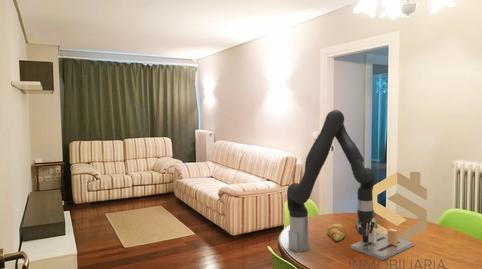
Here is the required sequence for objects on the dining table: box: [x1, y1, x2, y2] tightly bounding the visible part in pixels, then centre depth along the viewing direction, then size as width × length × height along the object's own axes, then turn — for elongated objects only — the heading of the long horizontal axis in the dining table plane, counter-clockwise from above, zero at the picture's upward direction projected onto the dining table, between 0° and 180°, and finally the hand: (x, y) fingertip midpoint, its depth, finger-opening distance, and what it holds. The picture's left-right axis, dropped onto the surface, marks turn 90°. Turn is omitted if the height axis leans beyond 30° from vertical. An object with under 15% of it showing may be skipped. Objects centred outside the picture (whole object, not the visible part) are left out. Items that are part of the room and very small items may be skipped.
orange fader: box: [386, 228, 399, 245], centre depth 169 cm, size 2×4×7 cm, turn 36°
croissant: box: [326, 222, 347, 242], centre depth 189 cm, size 21×10×8 cm, turn 167°
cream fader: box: [368, 228, 378, 243], centre depth 172 cm, size 2×4×7 cm, turn 35°
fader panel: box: [350, 232, 414, 261], centre depth 171 cm, size 26×18×2 cm
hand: (365, 242), depth 169 cm, fingers closed
